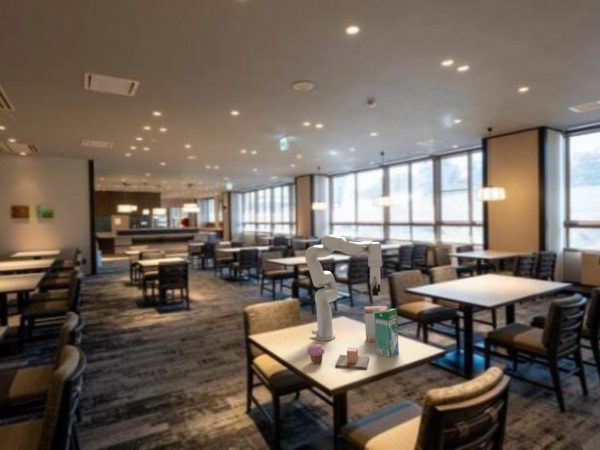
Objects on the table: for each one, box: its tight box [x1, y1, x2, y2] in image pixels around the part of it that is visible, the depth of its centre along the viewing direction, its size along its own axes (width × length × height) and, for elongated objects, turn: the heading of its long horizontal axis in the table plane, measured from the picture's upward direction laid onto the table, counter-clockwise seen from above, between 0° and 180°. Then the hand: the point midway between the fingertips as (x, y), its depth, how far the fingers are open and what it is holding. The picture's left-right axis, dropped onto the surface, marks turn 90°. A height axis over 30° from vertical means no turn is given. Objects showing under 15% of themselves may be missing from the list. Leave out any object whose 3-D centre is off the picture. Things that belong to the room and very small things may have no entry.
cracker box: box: [363, 305, 389, 343], centre depth 222 cm, size 14×6×21 cm, turn 84°
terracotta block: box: [346, 347, 359, 363], centre depth 189 cm, size 5×5×6 cm
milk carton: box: [374, 308, 400, 358], centre depth 201 cm, size 9×9×25 cm
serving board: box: [334, 354, 370, 370], centre depth 189 cm, size 16×14×1 cm
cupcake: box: [307, 343, 325, 365], centre depth 192 cm, size 9×9×10 cm
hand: (376, 293), depth 205 cm, fingers open, 9 cm apart
